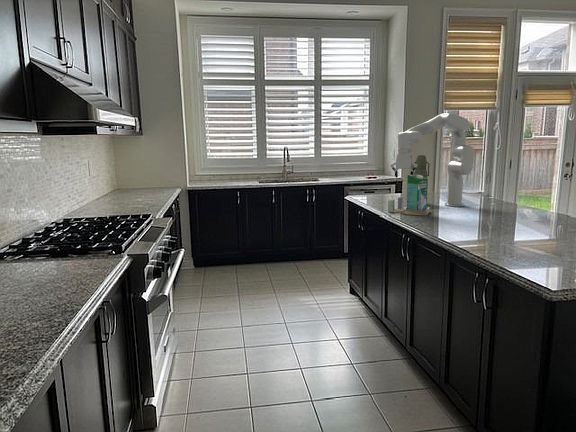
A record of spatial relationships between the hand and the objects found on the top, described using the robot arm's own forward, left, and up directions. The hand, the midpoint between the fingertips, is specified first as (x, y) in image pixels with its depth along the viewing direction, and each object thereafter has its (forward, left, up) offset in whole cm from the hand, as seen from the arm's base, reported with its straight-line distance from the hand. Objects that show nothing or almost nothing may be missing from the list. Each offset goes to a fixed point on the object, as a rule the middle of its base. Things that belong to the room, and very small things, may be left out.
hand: (403, 177), depth 290 cm
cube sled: (-7, +3, -22) cm, 24 cm away
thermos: (-34, +5, -23) cm, 41 cm away
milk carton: (+5, +10, -23) cm, 25 cm away
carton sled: (+5, +4, -22) cm, 23 cm away
